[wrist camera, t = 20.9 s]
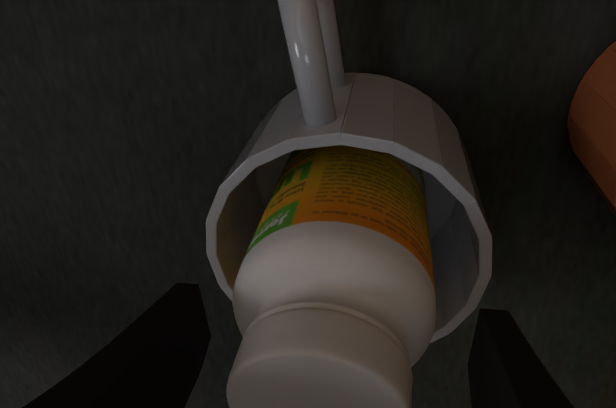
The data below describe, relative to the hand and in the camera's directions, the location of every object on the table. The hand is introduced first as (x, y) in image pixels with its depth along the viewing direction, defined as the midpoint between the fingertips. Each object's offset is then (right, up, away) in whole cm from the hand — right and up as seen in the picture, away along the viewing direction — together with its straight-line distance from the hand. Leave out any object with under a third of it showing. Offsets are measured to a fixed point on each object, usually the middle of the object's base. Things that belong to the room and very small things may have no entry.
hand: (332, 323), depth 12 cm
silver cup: (+1, +6, +5) cm, 8 cm away
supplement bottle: (+1, +4, +6) cm, 7 cm away
